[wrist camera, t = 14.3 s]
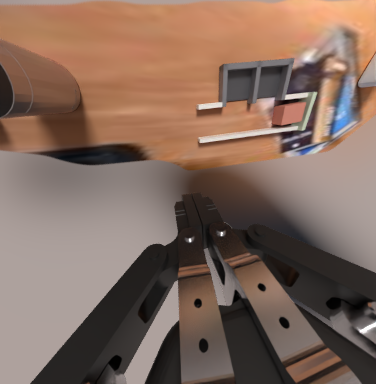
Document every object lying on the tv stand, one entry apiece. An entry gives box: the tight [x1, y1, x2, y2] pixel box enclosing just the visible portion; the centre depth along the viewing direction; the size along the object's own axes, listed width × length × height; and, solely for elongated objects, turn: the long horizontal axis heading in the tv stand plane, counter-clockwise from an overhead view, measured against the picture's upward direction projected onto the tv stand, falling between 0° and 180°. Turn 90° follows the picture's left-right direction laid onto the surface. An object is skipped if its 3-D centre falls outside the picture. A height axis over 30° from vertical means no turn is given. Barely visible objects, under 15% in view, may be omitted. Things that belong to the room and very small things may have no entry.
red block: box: [272, 102, 306, 125], centre depth 39 cm, size 6×4×4 cm
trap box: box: [196, 58, 317, 143], centre depth 36 cm, size 30×16×4 cm, turn 95°
